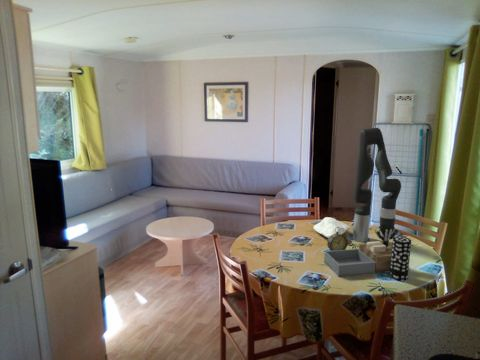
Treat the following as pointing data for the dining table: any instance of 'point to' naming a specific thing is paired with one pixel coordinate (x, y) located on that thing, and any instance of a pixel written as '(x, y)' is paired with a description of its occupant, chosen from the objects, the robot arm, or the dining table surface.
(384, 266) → the block
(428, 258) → the dining table surface
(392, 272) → the white-spotted black cylinder
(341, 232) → the crumpled cloth
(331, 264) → the box
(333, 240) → the alarm clock
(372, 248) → the wooden tile
